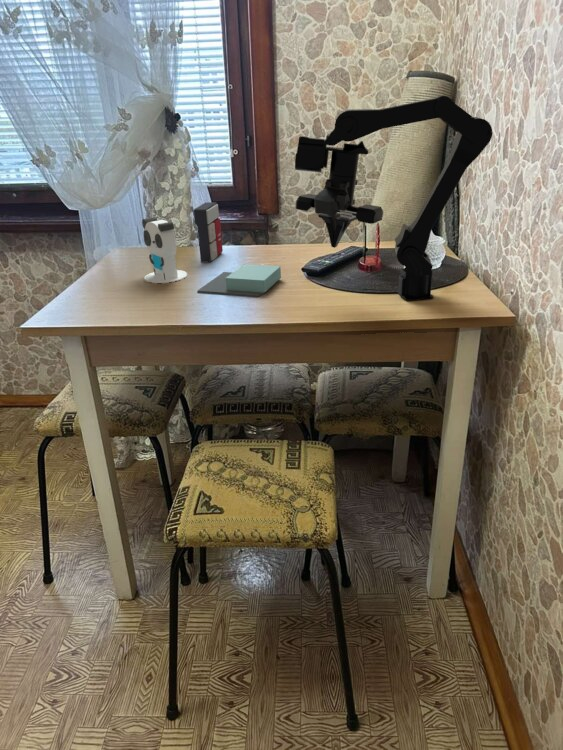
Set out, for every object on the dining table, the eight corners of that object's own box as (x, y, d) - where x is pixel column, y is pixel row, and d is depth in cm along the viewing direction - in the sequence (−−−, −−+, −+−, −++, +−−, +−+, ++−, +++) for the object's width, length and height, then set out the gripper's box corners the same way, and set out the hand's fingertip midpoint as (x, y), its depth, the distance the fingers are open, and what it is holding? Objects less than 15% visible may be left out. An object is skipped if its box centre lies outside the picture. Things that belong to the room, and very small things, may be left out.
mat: (280, 277, 148) (279, 275, 148) (258, 297, 135) (258, 294, 134) (223, 273, 153) (223, 271, 153) (197, 292, 139) (197, 290, 139)
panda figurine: (136, 276, 154) (127, 220, 147) (174, 267, 160) (167, 213, 153) (156, 286, 145) (147, 227, 139) (194, 277, 151) (188, 220, 145)
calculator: (213, 262, 163) (207, 209, 156) (198, 262, 164) (193, 209, 157) (224, 252, 173) (219, 202, 166) (210, 252, 174) (205, 202, 167)
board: (280, 266, 145) (244, 264, 148) (264, 280, 134) (225, 277, 138) (280, 277, 146) (244, 275, 149) (264, 292, 136) (226, 289, 139)
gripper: (286, 171, 118) (280, 245, 126) (369, 185, 111) (358, 263, 118) (310, 167, 127) (304, 236, 134) (389, 179, 119) (377, 252, 127)
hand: (334, 247), depth 128 cm, fingers closed
